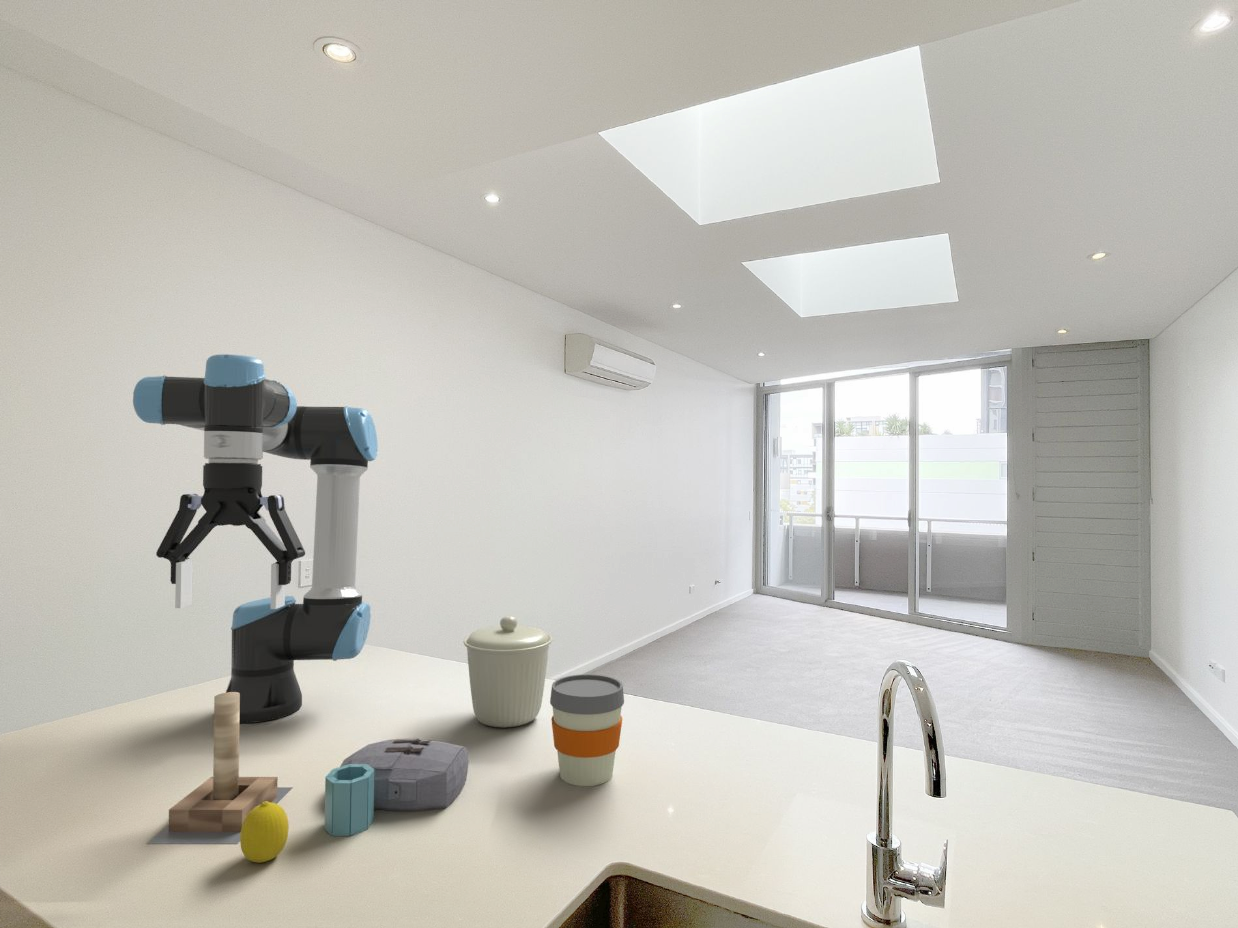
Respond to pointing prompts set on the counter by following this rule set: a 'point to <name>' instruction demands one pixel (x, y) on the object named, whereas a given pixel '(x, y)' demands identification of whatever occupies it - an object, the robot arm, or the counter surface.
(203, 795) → the frame
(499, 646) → the canister
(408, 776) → the grey rounded bag
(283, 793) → the tray
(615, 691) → the reusable coffee cup
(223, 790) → the dowel
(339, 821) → the cup
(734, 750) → the counter surface
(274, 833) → the lemon
